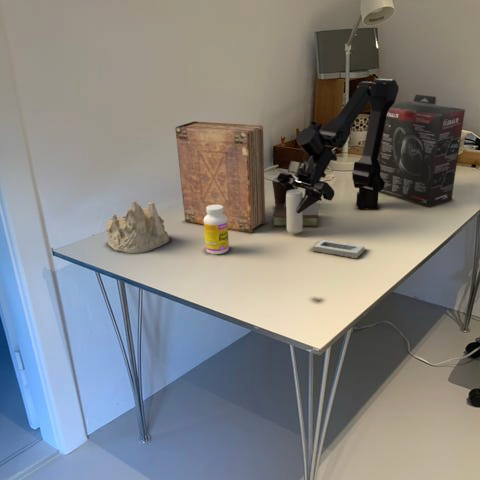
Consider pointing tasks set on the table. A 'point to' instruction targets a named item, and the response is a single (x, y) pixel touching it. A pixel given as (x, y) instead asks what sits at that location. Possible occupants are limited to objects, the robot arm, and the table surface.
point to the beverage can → (294, 211)
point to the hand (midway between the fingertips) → (291, 210)
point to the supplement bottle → (216, 230)
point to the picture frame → (339, 249)
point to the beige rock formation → (137, 230)
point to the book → (222, 172)
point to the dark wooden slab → (308, 216)
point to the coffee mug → (279, 191)
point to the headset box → (420, 150)
